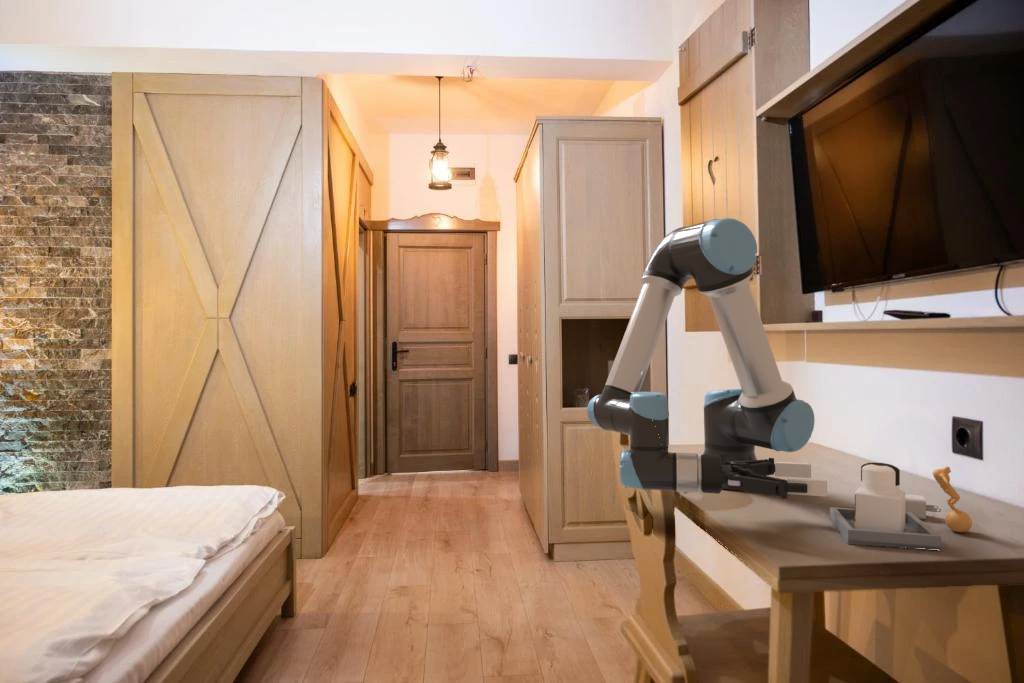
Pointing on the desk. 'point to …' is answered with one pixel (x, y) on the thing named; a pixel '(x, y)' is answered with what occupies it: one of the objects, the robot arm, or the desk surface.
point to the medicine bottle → (880, 499)
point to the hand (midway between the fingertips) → (818, 479)
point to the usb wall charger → (918, 506)
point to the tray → (885, 532)
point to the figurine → (952, 503)
